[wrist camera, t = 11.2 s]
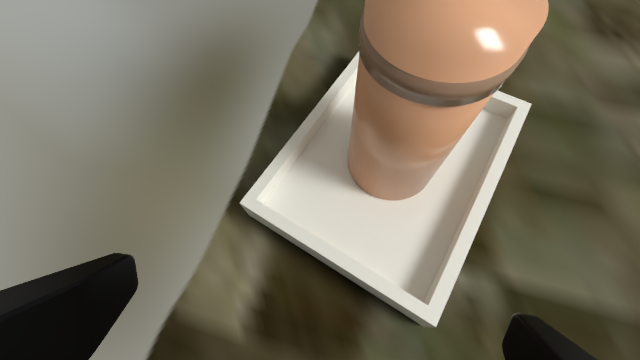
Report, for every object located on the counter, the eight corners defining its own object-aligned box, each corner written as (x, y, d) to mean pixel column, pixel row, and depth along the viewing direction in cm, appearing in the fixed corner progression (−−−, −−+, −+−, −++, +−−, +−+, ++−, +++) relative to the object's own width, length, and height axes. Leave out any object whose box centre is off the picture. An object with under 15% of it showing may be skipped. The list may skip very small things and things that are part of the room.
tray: (423, 326, 19) (436, 327, 17) (248, 215, 22) (239, 202, 20) (513, 123, 25) (531, 103, 23) (365, 62, 29) (367, 40, 26)
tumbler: (435, 206, 21) (570, 65, 9) (342, 196, 22) (357, 51, 10) (432, 128, 24) (534, -57, 12) (349, 121, 24) (369, -64, 13)
